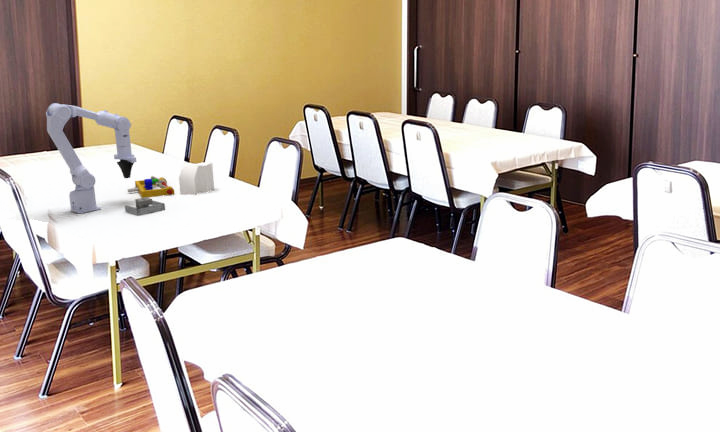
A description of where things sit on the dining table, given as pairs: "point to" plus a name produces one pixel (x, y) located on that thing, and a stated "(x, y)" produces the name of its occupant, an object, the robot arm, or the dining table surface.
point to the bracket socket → (146, 208)
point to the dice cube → (143, 202)
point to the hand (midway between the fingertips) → (127, 177)
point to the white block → (196, 178)
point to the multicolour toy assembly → (147, 187)
